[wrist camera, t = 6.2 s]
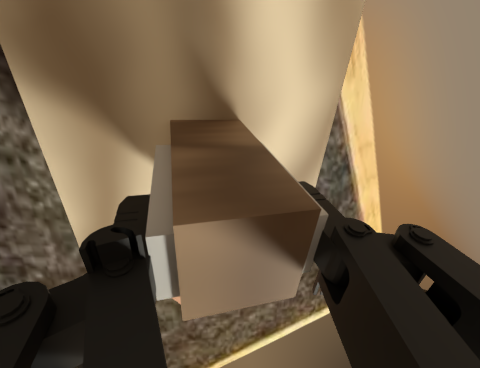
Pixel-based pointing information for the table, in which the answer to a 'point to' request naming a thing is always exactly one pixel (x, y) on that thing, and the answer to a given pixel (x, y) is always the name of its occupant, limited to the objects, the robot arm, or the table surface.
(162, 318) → the table surface
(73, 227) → the board
